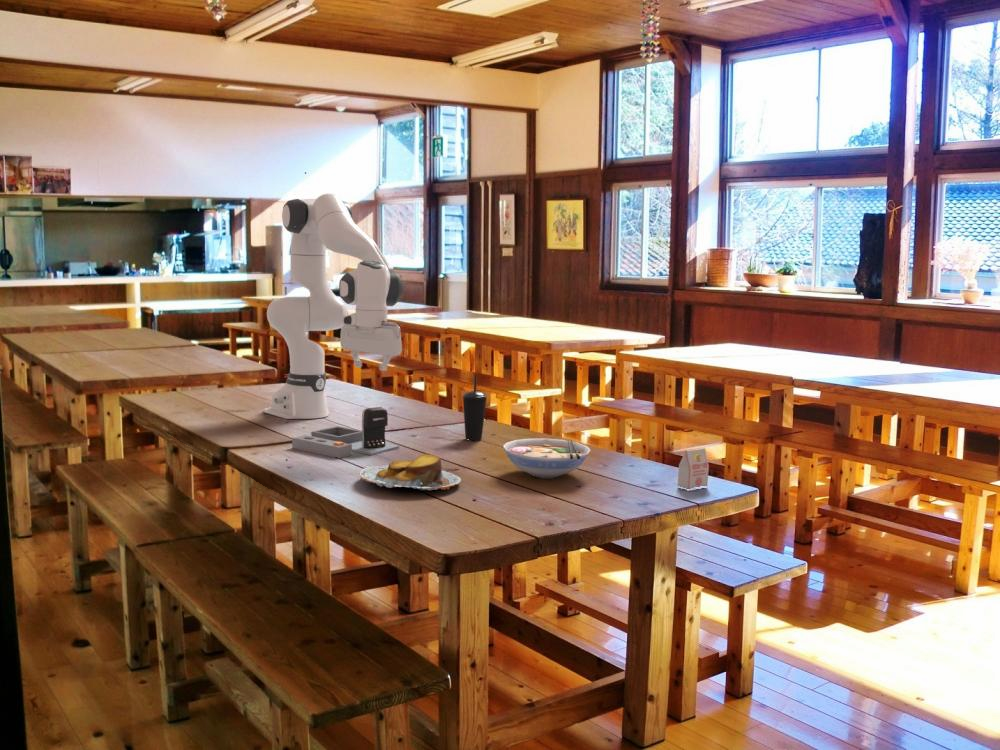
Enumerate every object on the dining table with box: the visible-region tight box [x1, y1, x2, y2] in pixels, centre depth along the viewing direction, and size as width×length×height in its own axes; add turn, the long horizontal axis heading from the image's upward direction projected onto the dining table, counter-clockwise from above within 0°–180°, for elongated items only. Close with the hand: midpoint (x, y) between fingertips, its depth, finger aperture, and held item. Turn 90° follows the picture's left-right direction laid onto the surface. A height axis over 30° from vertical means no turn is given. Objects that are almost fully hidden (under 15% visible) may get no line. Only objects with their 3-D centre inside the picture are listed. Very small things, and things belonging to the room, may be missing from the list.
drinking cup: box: [461, 373, 488, 441], centre depth 291 cm, size 8×8×20 cm
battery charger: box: [361, 406, 389, 448], centre depth 273 cm, size 7×4×11 cm, turn 127°
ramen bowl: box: [502, 437, 591, 479], centre depth 252 cm, size 25×23×8 cm
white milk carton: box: [677, 448, 710, 489], centre depth 244 cm, size 4×7×10 cm, turn 123°
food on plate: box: [358, 453, 462, 491], centre depth 239 cm, size 25×25×7 cm
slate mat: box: [351, 440, 400, 456], centre depth 276 cm, size 12×12×1 cm
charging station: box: [291, 425, 362, 459], centre depth 277 cm, size 22×22×4 cm
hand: (370, 368), depth 272 cm, fingers open, 8 cm apart
